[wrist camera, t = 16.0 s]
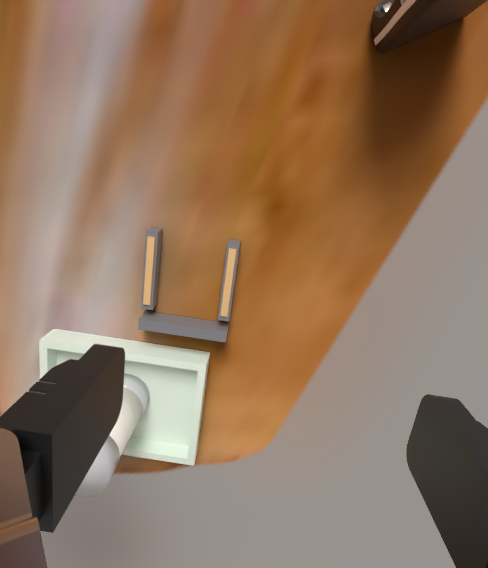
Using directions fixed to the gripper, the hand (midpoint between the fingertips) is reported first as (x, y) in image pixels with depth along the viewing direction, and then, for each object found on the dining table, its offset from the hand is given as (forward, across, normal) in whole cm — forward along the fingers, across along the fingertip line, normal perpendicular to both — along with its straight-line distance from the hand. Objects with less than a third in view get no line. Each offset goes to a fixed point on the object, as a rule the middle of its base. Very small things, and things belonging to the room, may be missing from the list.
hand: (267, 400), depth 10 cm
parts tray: (+24, +11, +17) cm, 31 cm away
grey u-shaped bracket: (+24, +6, +4) cm, 25 cm away
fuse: (+23, +11, +17) cm, 31 cm away
